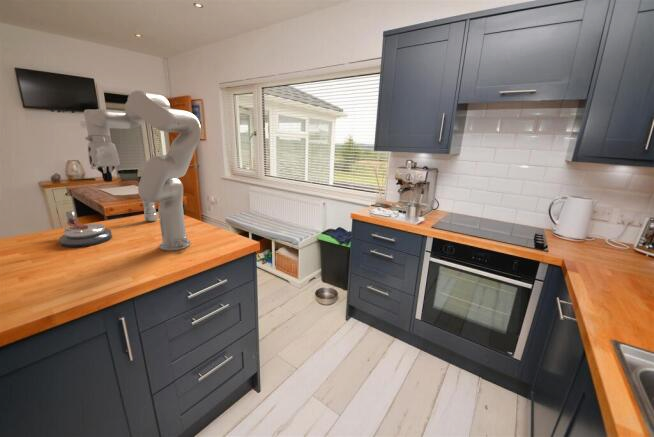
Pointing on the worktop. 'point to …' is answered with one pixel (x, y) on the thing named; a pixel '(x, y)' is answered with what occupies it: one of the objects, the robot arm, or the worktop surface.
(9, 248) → the worktop surface
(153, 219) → the plastic bottle
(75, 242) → the gray plate
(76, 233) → the crank handle wheel
